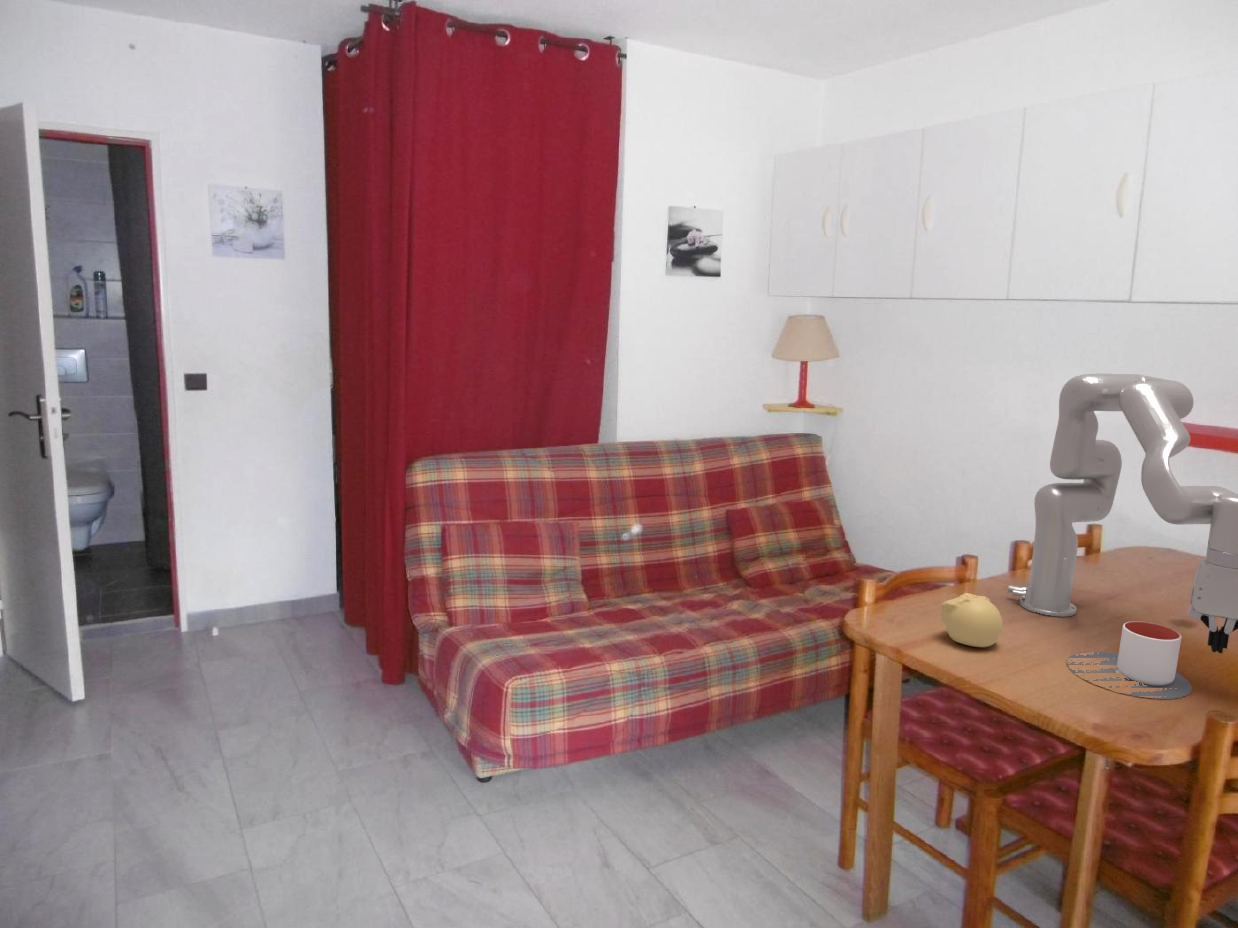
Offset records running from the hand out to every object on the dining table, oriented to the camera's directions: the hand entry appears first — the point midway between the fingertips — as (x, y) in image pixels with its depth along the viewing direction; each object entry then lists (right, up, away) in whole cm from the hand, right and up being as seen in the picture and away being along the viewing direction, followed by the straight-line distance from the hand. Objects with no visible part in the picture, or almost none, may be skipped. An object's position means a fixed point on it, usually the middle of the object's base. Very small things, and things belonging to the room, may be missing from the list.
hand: (1216, 650), depth 163 cm
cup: (-9, -7, +8) cm, 14 cm away
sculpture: (-38, -4, +24) cm, 45 cm away
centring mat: (-12, -7, +9) cm, 16 cm away
